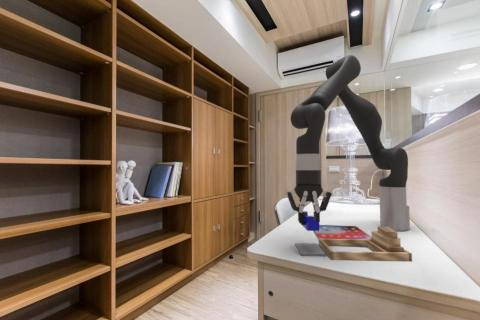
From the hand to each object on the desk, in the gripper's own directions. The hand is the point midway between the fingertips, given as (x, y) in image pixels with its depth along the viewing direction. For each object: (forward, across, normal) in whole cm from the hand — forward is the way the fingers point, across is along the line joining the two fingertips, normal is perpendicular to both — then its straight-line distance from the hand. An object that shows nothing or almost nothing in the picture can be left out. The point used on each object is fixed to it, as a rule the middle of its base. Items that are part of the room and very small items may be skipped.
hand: (308, 224), depth 69 cm
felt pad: (+8, 0, 0) cm, 8 cm away
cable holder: (+1, 0, 0) cm, 1 cm away
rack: (+8, -15, +1) cm, 17 cm away
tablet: (+8, -16, -16) cm, 24 cm away
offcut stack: (+8, -22, +1) cm, 24 cm away
